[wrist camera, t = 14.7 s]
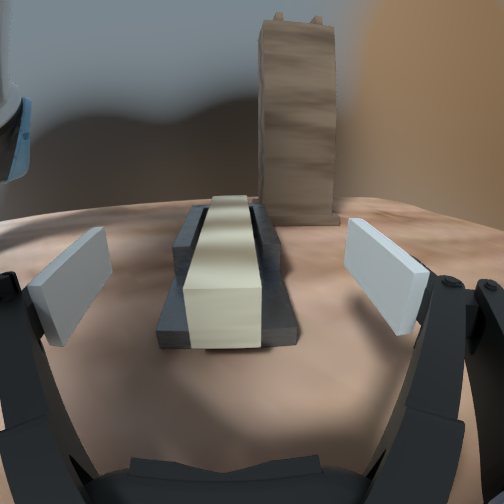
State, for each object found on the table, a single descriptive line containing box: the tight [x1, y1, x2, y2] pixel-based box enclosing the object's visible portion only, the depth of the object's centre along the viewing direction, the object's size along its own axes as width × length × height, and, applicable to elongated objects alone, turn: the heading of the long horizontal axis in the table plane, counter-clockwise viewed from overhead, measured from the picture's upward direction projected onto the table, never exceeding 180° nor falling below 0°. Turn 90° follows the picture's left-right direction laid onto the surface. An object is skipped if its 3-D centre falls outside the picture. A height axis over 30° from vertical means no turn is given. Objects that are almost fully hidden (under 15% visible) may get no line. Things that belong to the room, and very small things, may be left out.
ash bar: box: [183, 195, 262, 348], centre depth 26 cm, size 22×4×4 cm, turn 3°
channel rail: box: [156, 204, 298, 349], centre depth 28 cm, size 22×9×4 cm, turn 3°
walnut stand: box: [253, 12, 340, 226], centre depth 42 cm, size 12×12×32 cm
